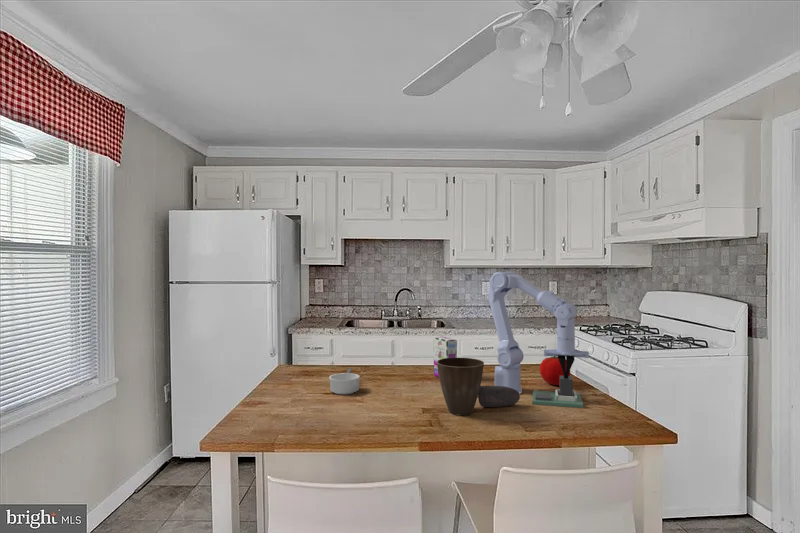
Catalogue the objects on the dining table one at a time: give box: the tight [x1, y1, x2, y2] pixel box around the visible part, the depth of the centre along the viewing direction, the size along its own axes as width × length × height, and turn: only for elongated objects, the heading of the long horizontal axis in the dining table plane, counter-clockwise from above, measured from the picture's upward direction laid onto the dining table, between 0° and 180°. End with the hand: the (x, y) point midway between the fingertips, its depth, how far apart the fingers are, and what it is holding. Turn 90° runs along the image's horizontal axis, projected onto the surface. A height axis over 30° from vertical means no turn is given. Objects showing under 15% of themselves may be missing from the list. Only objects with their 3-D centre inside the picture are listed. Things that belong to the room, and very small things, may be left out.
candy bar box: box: [433, 336, 458, 378], centre depth 198 cm, size 11×5×16 cm, turn 25°
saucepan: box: [328, 367, 361, 395], centre depth 183 cm, size 12×20×6 cm, turn 177°
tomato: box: [539, 356, 571, 386], centre depth 187 cm, size 12×12×11 cm
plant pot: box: [437, 357, 485, 416], centre depth 154 cm, size 15×15×16 cm
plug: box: [559, 375, 574, 396], centre depth 166 cm, size 4×6×7 cm, turn 164°
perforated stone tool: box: [477, 385, 521, 408], centre depth 160 cm, size 15×5×7 cm, turn 96°
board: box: [531, 388, 584, 409], centre depth 166 cm, size 16×14×2 cm
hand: (566, 377), depth 165 cm, fingers closed, pressing on plug
